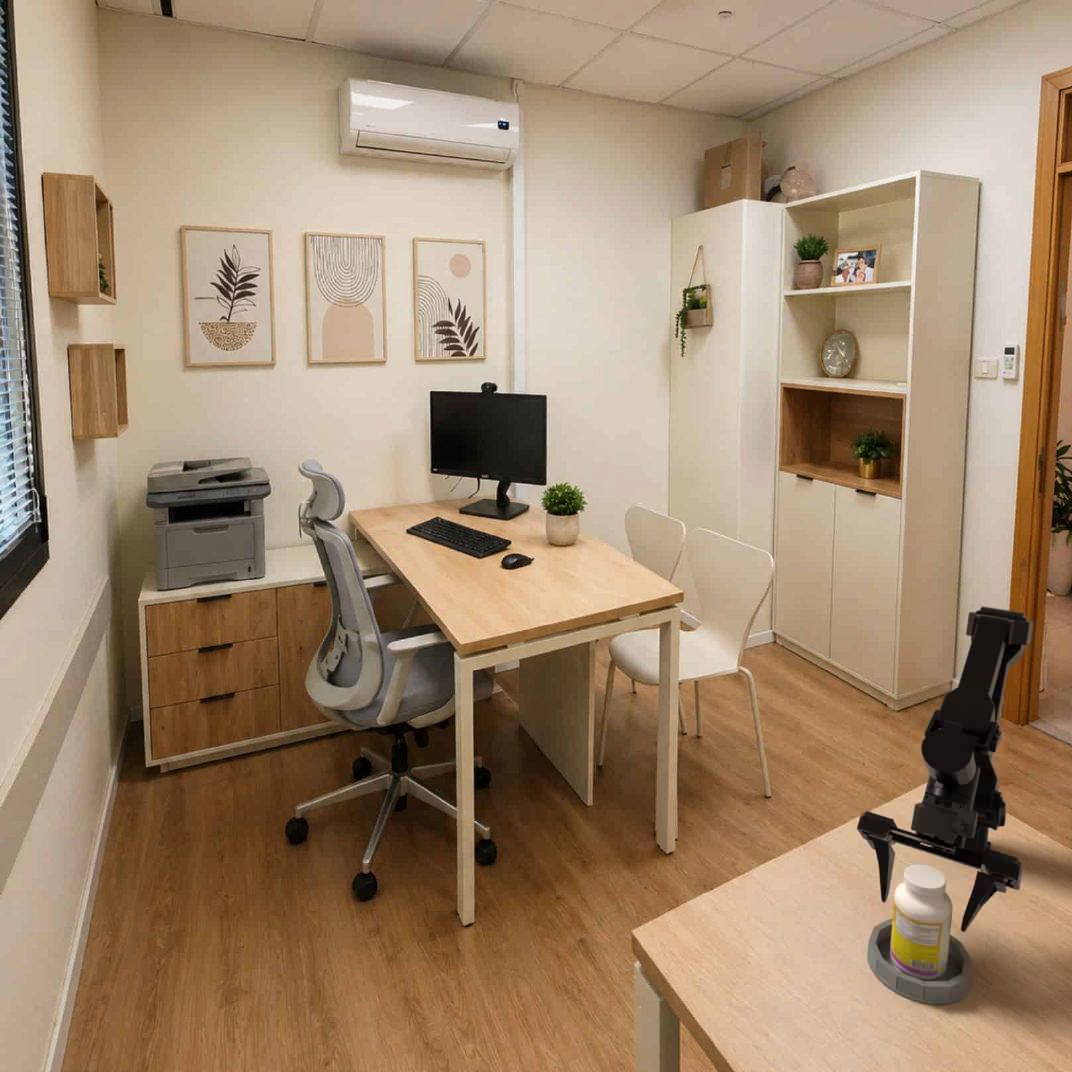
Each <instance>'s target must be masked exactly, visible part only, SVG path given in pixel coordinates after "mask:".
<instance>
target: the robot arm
mask: <svg viewBox="0 0 1072 1072" xmlns="http://www.w3.org/2000/svg"><path fill="white" fill-rule="evenodd" d="M967 616H968V617H967V618H968V619H967V624H966V630H965V631H966V632H965V635H966V636H969V637H970V641H971V642H970V645H969V649H968V653H967V655H966V660H965V663H964V665H963V669H962V672H961V674H960V675H961V676H960V679H959V683H958V684H957V687H956V688H954V689H952V690H950V691H949V692H948V693H946V694H945V695H944V697H943V700H942V702H941V705H940V708H935V710H934V712H933V715H931V718H930V721H929V723H928V725H927V727H926V728H925V729H926V730H924V731H925V732H924V738H923V740H922V741H921V744H920V745H921V747H920V748H921V749H920V751H921V755H922V758H923V761H924V764H925V767H926V769H927V772H928V779H927V781H926V786H925V790H924V795H923V799H922V801H921V802H917V803H915V804H914V808H913V814H912V819H911V826H910V830H911V831H914V832H915V833H914V832H911V831H908V830H906V829H902V828H899V827H898V826H897V824H896V822H895V820H894V818H891V817H888V816H884V815H881V814H879V813H875V812H872V811H868V810H865V811H864V812H863V813H861V815H860V816H859V820H858V823H857V827H856V829H857V831H858V832H859V834H860V835H861V837H862V839H864V840H865V841H866V842H867V843H868V845H869V847H870V848H871V849H872V850H874V851H875V854H876V859H877V863H878V875H879V876H878V877H879V885H880V886H879V887H880V897H881V899H880V900H881V902H882V903H885V904H886V903H887V901H888V900H887V899H888V897H889V894H890V887H891V882H892V877H893V870H894V865H895V864H894V863H895V859H896V852H895V850H894V849H893V846H894V845H895V844H898V845H903V846H906V847H909V848H911V849H915V850H917V851H920V852H923V853H927V854H930V855H932V856H935V857H939V858H942V859H946V860H949V861H952V862H954V863H958V864H961V865H964V866H967V867H971V868H972V869H976V870H977V873H976V876H975V880H974V884H973V888H972V890H971V893H970V895H969V898H968V901H967V905H966V906H965V907H966V908H965V910H964V912H963V915H962V919H961V924H960V925H961V926H960V931H961V932H962V933H966V931H967V930H968V929H969V927H970V925H971V924H972V923H973V921H974V919H976V916H977V915H978V914H979V912H980V911H981V909H982V908H983V907H984V905H985V904H986V903H988V901H989V900H990V899H991V898H992V897H993V896H994V895H995V894H996V893H997V892H999V893H1004V894H1006V893H1007V888H1009V889H1013V890H1016V891H1017V890H1018V891H1020V888H1021V882H1022V877H1023V876H1022V875H1023V868H1022V867H1023V865H1022V862H1021V861H1020V860H1019V858H1018V857H1016V856H1013V855H1010V854H1007V853H1004V852H1000V851H996V850H994V849H991V847H992V842H990V841H988V839H989V833H990V829H992V830H994V831H998V828H1000V827H1005V825H1006V818H1007V803H1006V802H1005V801H1004V796H1003V792H1002V791H999V789H1000V784H1001V783H1000V779H999V776H998V774H997V772H996V769H995V767H994V764H993V763H992V761H993V755H994V753H996V752H997V750H998V747H999V745H1000V744H1001V740H1002V736H1003V732H1002V731H1001V730H1000V727H1001V726H1000V725H999V723H1000V719H1001V718H1000V717H1001V711H1002V707H1003V701H1004V696H1005V691H1006V685H1007V679H1008V675H1009V669H1010V668H1011V667H1013V665H1015V664H1016V663H1017V662H1018V661H1020V659H1021V658H1022V657H1023V655H1024V652H1025V648H1026V647H1025V646H1028V645H1030V644H1031V640H1032V636H1033V635H1032V634H1033V628H1034V621H1033V620H1027V618H1026V613H1025V612H1020V611H1014V610H1009V609H1004V608H1003V609H1002V608H996V607H990V606H981V607H980V609H979V610H976V611H969V612H968V615H967Z"/></svg>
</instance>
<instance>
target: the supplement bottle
mask: <svg viewBox="0 0 1072 1072" xmlns="http://www.w3.org/2000/svg"><path fill="white" fill-rule="evenodd" d="M903 873H904V875H903V882H901V883H900V884H899V885H897V887H896V888H895V890H894V894H893V906H892V918H891V919H892V932H891V945H890V954H891V958H892V960H893V962H894V963H895V965H896V966H897V967H898V968H899V969H900V970H902V971H903V972H905V973H906V974H908V975H910V976H912V977H915V978H918V979H923V980H932V979H936V978H939V977H941V976H942V975H943V974H944V973H945V971H946V969H947V962H948V952H949V941H950V935H951V929H952V928H951V927H952V919H953V902H952V899H951V898H950V896H949V894H948V893H947V892H946V890H947V889H946V887H947V886H946V885H947V879H946V877H945V875H944V874H943V873H942V872H941V871H940V870H938V869H937V868H934V867H932V866H930V865H926V864H912V865H909V866H907V867H906V868H905V869H904V872H903Z"/></svg>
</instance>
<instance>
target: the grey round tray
mask: <svg viewBox="0 0 1072 1072" xmlns="http://www.w3.org/2000/svg"><path fill="white" fill-rule="evenodd" d="M891 932H892V918H889V919H886V920H885V921H883V922H881V923H878V924H877V925H874V926H873V928H872V931H871V933H870V935H869V936H870V937H869V939H868V943H867V944H868V945H867V955H866V956H867V957H866V958H867V962H868V965H869V968H870V971H872V973H873V974H874V976H875V978H876V979H878V980H879V982H880V983H882V984H883V985H884V986H885V987H886V988H888V989H889V990H890V991H892V992H894V994H897V995H899V996H901V997H903V998H905V999H907V1000H910V1001H913V1002H915V1003H920V1004H925V1005H931V1006H945V1005H951V1004H954V1003H957V1002H959V1001H961V1000H963V999H964V998H965V997H966V996H967V995H968V994H969V992H970V989H971V986H972V966H973V965H972V964H973V959H972V958H971V956H970V955H969V953H968V951H967V949H966V948H965V947H964V945H963V943H962V942H961V941H960V940H959V939H957V938H956V937H954V936H953V935H951V934H950V941H949V952H948V962H947V969H946V971H945V973H944V974H943V975H942V976H941V977H939V978H936V979H932V980H923V979H918V978H915V977H912V976H910V975H908V974H906V973H905V972H903V971H902V970H900V969H899V968H898V967H897V966H896V965H895V963H894V962H893V960H892V958H891V954H890V945H891Z"/></svg>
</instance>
